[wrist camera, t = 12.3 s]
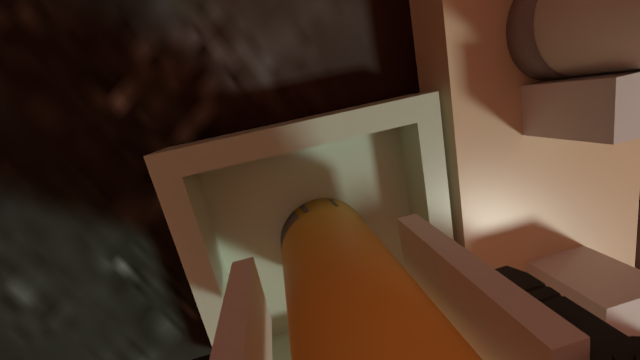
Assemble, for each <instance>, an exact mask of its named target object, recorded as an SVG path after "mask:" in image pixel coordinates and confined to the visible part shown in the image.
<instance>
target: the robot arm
mask: <svg viewBox="0 0 640 360" xmlns="http://www.w3.org/2000/svg"><path fill="white" fill-rule="evenodd" d="M397 220H398V227H399V233H400V240H401V246H402V253H403V260H404V266H405V270H406V271H407V272H408V273H409V274H410V275H411V277H412V278H413V279H414V280H415V281H416V283H417V284H418V285H419V286H420V287H421V288H422V290H423V291H424V292H425V293H426V294H427V295H428V297H429V298H430V299H431V300H432V301H433V302H434V304H435V305H436V306H437V307H438V308H439V309H440V311H441V312H442V313H443V314H444V315H445V316H446V318H447V319H448V320H449V321H450V322H451V323H452V325H453V326H454V327H455V328H456V329H457V330H458V332H459V333H460V334H461V335H462V336H463V338H464V339H465V340H466V341H467V342H468V343H469V345H470V346H471V347H472V348H473V349H474V350H475V352H476V353H477V354H478V355H479V356H480V357H481V359H482V360H640V336H630V337H629V336H627V335H625V334H624V333H622V332H621V331H619V330H617V329H616V328H614V327H613V326H611V325H609V324H608V323H606V322H605V321H603V320H602V319H600V318H598V317H597V316H595V315H594V314H592V313H590V312H589V311H587V310H586V309H584V308H583V307H581V306H579V305H578V304H576V303H575V302H573V301H572V300H570V299H568V298H567V297H565V296H561V294H560V293H559V292H557V291H556V290H554V289H553V288H551V287H549V286H546V285H545V283H543V282H541V281H540V280H538V279H537V278H535V277H534V276H532V275H530V274H529V273H527V272H524V271H521V270H518V269H515V268H513V267H510V266H503V267H500V268H496V269H493V268H492V267H491V266H489V265H488V264H486V263H485V262H484V261H482V260H481V259H479V258H478V257H477V256H475V255H474V254H472V253H471V252H470V251H468V250H467V249H465V248H464V247H462V246H461V245H460V244H458V243H457V242H455V241H454V240H453V239H451V238H450V237H448V236H447V235H446V234H444V233H443V232H441V231H440V230H439V229H437V228H436V227H434V226H433V225H431V224H430V223H429V222H427V221H426V220H424V219H423V218H422V217H420V216H419V215H417V214H412V215H408V216H405V217H401V218H397ZM193 360H272V319H271V316H270V312H269V309H268V306H267V302H266V299H265V295H264V292H263V288H262V285H261V282H260V278H259V275H258V271H257V268H256V264H255V261H254V258H253V257H250V258H246V259H243V260H239V261H235V262H232V265H231V269H230V273H229V278H228V282H227V286H226V290H225V295H224V299H223V303H222V308H221V312H220V316H219V320H218V325H217V329H216V333H215V337H214V342H213V346H212V350H211V354H210V355H206V356H203V357H199V358H196V359H193Z"/></svg>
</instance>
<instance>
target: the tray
mask: <svg viewBox="0 0 640 360" xmlns="http://www.w3.org/2000/svg"><path fill="white" fill-rule="evenodd" d="M143 157H144V160H145V163H146V166H147V168H148V171H149V174H150V177H151V179H152V182H153V185H154V188H155V191H156V193H157V196H158V199H159V202H160V204H161V207H162V210H163V213H164V215H165V218H166V221H167V224H168V227H169V229H170V232H171V235H172V238H173V240H174V243H175V246H176V249H177V251H178V254H179V257H180V260H181V263H182V265H183V268H184V271H185V274H186V276H187V279H188V282H189V285H190V287H191V290H192V293H193V296H194V299H195V301H196V304H197V307H198V310H199V312H200V315H201V318H202V321H203V323H204V326H205V329H206V332H207V335H208V337H209V340H210V343H211V346H213V342H214V337H215V333H216V329H217V325H218V320H219V316H220V312H221V308H222V303H223V299H224V295H225V290H226V286H227V282H228V278H229V273H230V269H231V265H232V262H235V261H239V260H243V259H246V258H250V257H253V258H254V261H255V264H256V268H257V271H258V275H259V278H260V282H261V285H262V288H263V292H264V295H265V299H266V302H267V306H268V309H269V312H270V316H271V319H272V360H291V350H290V339H289V329H288V318H287V307H286V296H285V286H284V275H283V264H282V253H281V232H282V229H283V226H284V224H285V222H286V220H287V218H288V217H289V216H290V214H291V213H292V212H293V211H294V210H295V209H297V208H298V207H299V206H301V205H302V204H304V203H306V202H308V201H311V200H314V199H320V198H332V199H336V200H339V201H342V202H344V203H346V204H348V205H349V206H351V207H352V208H353V209H354V210H355V211H356V212H357V213H358V215H359V216H360V217H361V218H362V219H363V221H364V222H365V223H366V224H367V225H368V226H369V228H370V229H371V230H372V231H373V232H374V233H375V235H376V236H377V237H378V238H379V239H380V240H381V242H382V243H383V244H384V245H385V246H386V247H387V249H388V250H389V251H390V252H391V253H392V254H393V256H394V257H395V258H396V259H397V260H398V261H399V263H400V264H401V265H402V266H403V267H404V268H405V266H404V260H403V253H402V246H401V240H400V233H399V227H398V220H397V218H401V217H405V216H408V215H412V214H417V215H419V216H420V217H422V218H423V219H424V220H426V221H427V222H429V223H430V224H431V225H433V226H434V227H436V228H437V229H439V230H440V231H441V232H443V233H444V234H446V235H447V236H448V237H450V238H451V239H453V240H454V238H453V228H452V218H451V208H450V198H449V189H448V179H447V169H446V159H445V149H444V140H443V130H442V120H441V110H440V100H439V91H435V92H425V93H415V94H408V95H403V96H399V97H394V98H390V99H385V100H380V101H376V102H371V103H367V104H362V105H358V106H353V107H349V108H344V109H339V110H335V111H330V112H326V113H321V114H317V115H312V116H308V117H303V118H298V119H294V120H289V121H285V122H280V123H276V124H271V125H267V126H262V127H258V128H253V129H248V130H244V131H239V132H235V133H230V134H226V135H221V136H217V137H212V138H207V139H203V140H198V141H194V142H189V143H185V144H180V145H176V146H171V147H166V148H164V149H161V150H159V151H156V152H153V153H151V154H148V155H146V156H143Z"/></svg>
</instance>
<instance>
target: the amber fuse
mask: <svg viewBox="0 0 640 360" xmlns="http://www.w3.org/2000/svg"><path fill="white" fill-rule="evenodd" d="M281 253H282V264H283V275H284V286H285V296H286V307H287V318H288V329H289V339H290V350H291V360H482V359H481V357H480V356H479V355H478V354H477V353H476V352H475V350H474V349H473V348H472V347H471V346H470V345H469V343H468V342H467V341H466V340H465V339H464V338H463V336H462V335H461V334H460V333H459V332H458V330H457V329H456V328H455V327H454V326H453V325H452V323H451V322H450V321H449V320H448V319H447V318H446V316H445V315H444V314H443V313H442V312H441V311H440V309H439V308H438V307H437V306H436V305H435V304H434V302H433V301H432V300H431V299H430V298H429V297H428V295H427V294H426V293H425V292H424V291H423V290H422V288H421V287H420V286H419V285H418V284H417V283H416V281H415V280H414V279H413V278H412V277H411V275H410V274H409V273H408V272H407V271H406V270H405V268H404V267H403V266H402V265H401V264H400V263H399V261H398V260H397V259H396V258H395V257H394V256H393V254H392V253H391V252H390V251H389V250H388V249H387V247H386V246H385V245H384V244H383V243H382V242H381V240H380V239H379V238H378V237H377V236H376V235H375V233H374V232H373V231H372V230H371V229H370V228H369V226H368V225H367V224H366V223H365V222H364V221H363V219H362V218H361V217H360V216H359V215H358V213H357V212H356V211H355V210H354V209H353V208H352V207H351V206H349V205H348V204H346V203H344V202H342V201H339V200H336V199H332V198H320V199H314V200H311V201H308V202H306V203H304V204H302V205H301V206H299V207H298V208H297V209H295V210H294V211H293V212H292V213H291V214H290V216H289V217H288V218H287V220H286V222H285V224H284V226H283V229H282V232H281Z"/></svg>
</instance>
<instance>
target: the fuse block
mask: <svg viewBox="0 0 640 360" xmlns="http://www.w3.org/2000/svg"><path fill="white" fill-rule="evenodd" d="M409 5H410V13H411V22H412V30H413V39H414V47H415V56H416V64H417V73H418V81H419V90H420V93H425V92H435V91H439V100H440V110H441V120H442V130H443V140H444V149H445V159H446V169H447V179H448V189H449V198H450V208H451V218H452V228H453V238H454V241H455V242H457V243H458V244H460V245H461V246H462V247H464V248H465V249H467V250H468V251H470V252H471V253H472V254H474V255H475V256H477V257H478V258H479V259H481V260H482V261H484V262H485V263H486V264H488V265H489V266H491V267H492V268H493V269H496V268H500V267H503V266H510V267H513V268H515V269H518V270H521V271H524V272H527V273H529V274H530V275H532V276H534V277H535V278H537V279H538V280H540V281H541V282H543V283H545V285H546V286H549V287H551V288H553V289H554V290H556V291H557V292H559V293H560V294H561V296H565V297H567V298H568V299H570V300H572V301H573V302H575V303H576V304H578V305H579V306H581V307H583V308H584V309H586V310H587V311H589V312H590V313H592V314H594V315H595V316H597V317H598V318H600V319H602V320H603V321H605V322H606V323H608V324H609V325H611V326H613V327H614V328H616V329H617V330H619V331H621V332H622V333H624V334H625V335H627V336H629V337H630V336H640V270H639V269H637V268H635V252H636V237H637V222H638V207H639V192H640V0H409Z"/></svg>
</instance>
